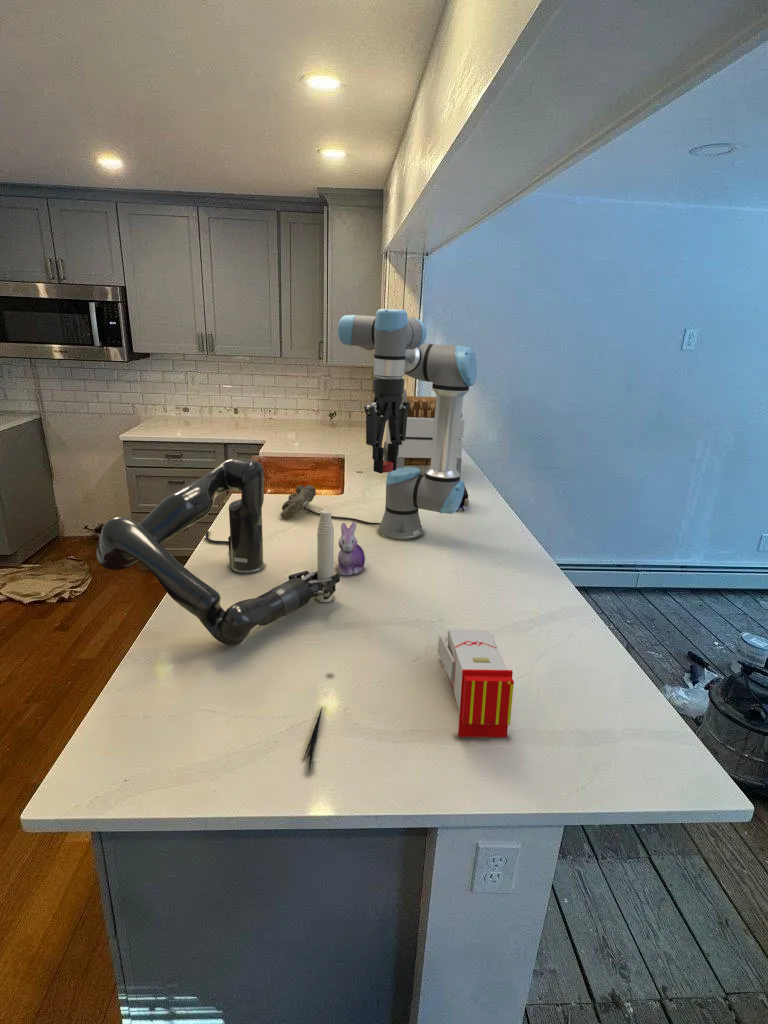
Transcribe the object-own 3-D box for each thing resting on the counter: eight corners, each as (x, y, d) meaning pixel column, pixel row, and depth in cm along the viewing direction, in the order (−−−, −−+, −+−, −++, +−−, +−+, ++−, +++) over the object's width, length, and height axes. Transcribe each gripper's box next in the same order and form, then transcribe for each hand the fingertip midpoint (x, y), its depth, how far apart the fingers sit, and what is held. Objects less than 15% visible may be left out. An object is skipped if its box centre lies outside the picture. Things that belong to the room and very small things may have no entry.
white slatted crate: (382, 463, 289) (386, 382, 275) (445, 464, 293) (451, 384, 279) (390, 482, 257) (394, 392, 243) (460, 483, 261) (468, 394, 247)
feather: (331, 679, 122) (336, 673, 122) (307, 777, 96) (313, 769, 95) (324, 675, 122) (329, 669, 121) (298, 772, 95) (304, 764, 95)
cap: (392, 468, 146) (392, 461, 146) (393, 472, 143) (393, 465, 142) (376, 467, 146) (376, 460, 145) (377, 472, 142) (377, 465, 142)
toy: (488, 613, 130) (523, 677, 101) (484, 667, 133) (517, 744, 104) (435, 612, 130) (455, 676, 101) (432, 666, 133) (451, 743, 103)
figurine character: (468, 516, 224) (463, 500, 237) (471, 498, 221) (465, 483, 234) (452, 515, 224) (447, 499, 237) (453, 498, 220) (449, 482, 234)
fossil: (285, 490, 226) (313, 470, 221) (301, 508, 229) (329, 489, 224) (270, 515, 206) (301, 493, 201) (287, 534, 209) (318, 513, 204)
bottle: (335, 600, 153) (336, 513, 144) (320, 603, 151) (321, 515, 142) (329, 593, 156) (330, 507, 148) (314, 596, 154) (315, 509, 146)
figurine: (343, 579, 165) (344, 531, 159) (329, 565, 173) (330, 519, 168) (372, 573, 169) (374, 526, 164) (357, 560, 177) (359, 515, 172)
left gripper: (267, 602, 145) (312, 579, 159) (308, 620, 138) (352, 594, 151) (266, 575, 143) (312, 554, 156) (308, 593, 135) (353, 569, 149)
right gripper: (403, 373, 144) (398, 462, 152) (351, 377, 133) (349, 472, 141) (424, 376, 139) (418, 468, 147) (372, 380, 128) (369, 479, 136)
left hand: (331, 574), depth 154 cm, fingers closed on bottle, 4 cm apart
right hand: (384, 470), depth 144 cm, fingers closed on cap, 4 cm apart
